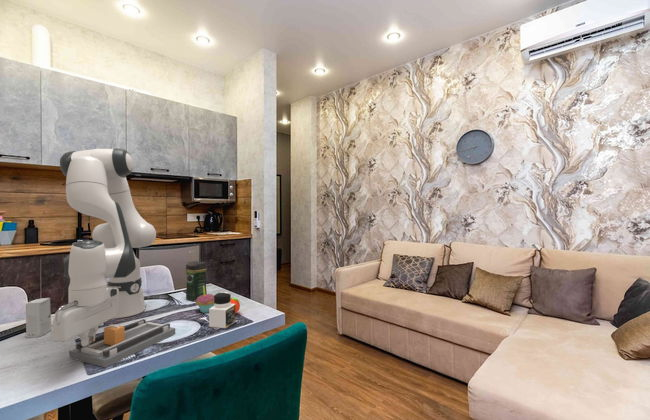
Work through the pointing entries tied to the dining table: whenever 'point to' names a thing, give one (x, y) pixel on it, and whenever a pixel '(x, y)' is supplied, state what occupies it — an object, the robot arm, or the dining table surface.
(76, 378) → the dining table surface
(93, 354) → the panel
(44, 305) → the skincare box
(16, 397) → the dining table surface
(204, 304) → the cupcake
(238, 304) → the clementine
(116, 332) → the block
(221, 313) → the medicine bottle
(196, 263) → the coffee jar
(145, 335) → the pair of dark pieces
